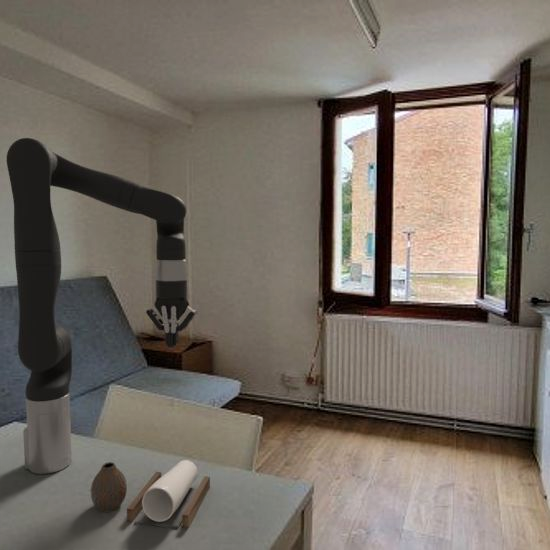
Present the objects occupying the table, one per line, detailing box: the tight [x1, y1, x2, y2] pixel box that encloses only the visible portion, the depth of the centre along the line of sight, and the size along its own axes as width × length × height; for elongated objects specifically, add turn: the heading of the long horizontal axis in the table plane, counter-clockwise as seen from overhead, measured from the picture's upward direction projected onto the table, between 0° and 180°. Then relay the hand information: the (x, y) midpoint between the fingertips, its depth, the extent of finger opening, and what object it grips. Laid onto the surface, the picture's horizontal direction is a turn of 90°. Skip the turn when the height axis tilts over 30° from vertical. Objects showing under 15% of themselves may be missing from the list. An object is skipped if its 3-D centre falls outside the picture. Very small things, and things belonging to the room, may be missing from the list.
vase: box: [90, 461, 128, 513], centre depth 94 cm, size 7×7×9 cm
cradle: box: [126, 471, 211, 529], centre depth 96 cm, size 12×14×2 cm
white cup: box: [142, 459, 198, 522], centre depth 96 cm, size 7×7×15 cm
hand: (172, 346), depth 116 cm, fingers closed
